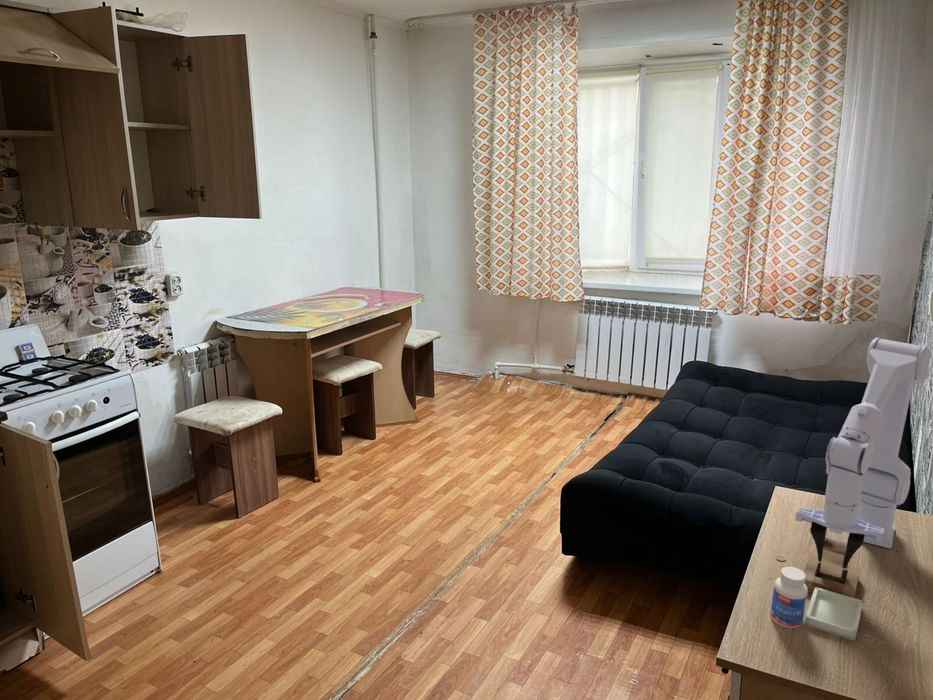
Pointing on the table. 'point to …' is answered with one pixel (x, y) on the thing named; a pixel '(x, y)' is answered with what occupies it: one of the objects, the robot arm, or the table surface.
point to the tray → (834, 613)
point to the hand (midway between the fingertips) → (832, 562)
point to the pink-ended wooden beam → (833, 557)
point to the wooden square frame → (847, 575)
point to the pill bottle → (789, 598)
